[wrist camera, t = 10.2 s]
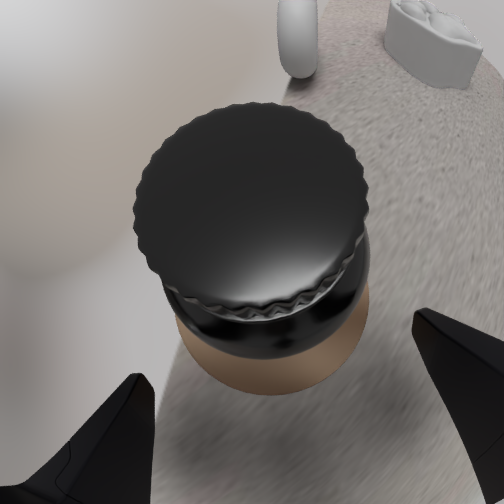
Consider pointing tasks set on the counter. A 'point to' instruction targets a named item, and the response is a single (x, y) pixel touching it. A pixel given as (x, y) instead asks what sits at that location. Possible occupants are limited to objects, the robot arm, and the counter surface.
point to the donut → (298, 36)
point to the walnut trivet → (281, 359)
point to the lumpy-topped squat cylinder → (431, 44)
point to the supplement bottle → (256, 228)
